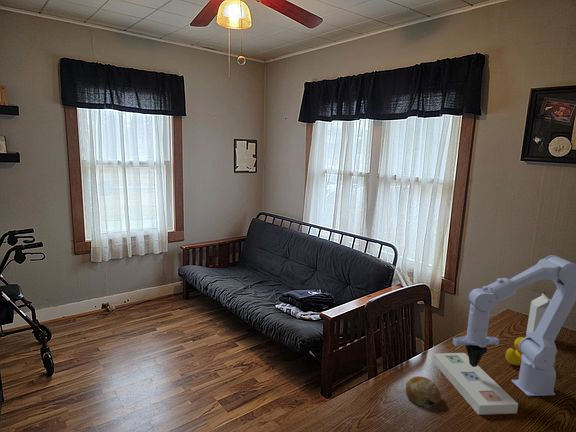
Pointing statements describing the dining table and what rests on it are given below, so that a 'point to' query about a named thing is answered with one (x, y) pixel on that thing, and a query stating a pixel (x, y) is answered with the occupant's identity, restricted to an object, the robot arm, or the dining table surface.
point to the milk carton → (537, 312)
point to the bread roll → (422, 391)
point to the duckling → (514, 353)
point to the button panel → (474, 385)
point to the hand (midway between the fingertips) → (473, 365)
